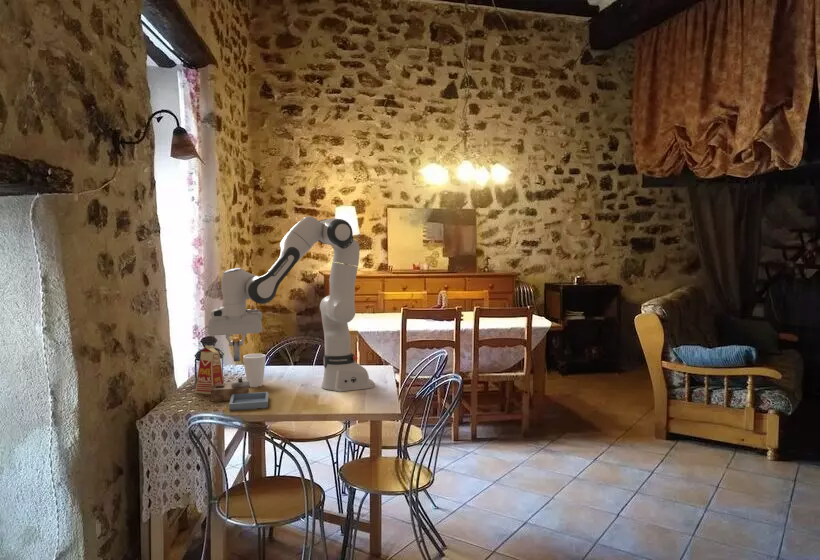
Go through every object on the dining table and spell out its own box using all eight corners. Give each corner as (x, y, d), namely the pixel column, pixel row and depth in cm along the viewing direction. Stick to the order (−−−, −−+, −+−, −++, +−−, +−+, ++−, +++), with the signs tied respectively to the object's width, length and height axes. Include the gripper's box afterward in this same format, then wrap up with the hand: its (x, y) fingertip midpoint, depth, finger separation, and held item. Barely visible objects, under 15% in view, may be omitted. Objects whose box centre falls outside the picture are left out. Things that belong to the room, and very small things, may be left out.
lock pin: (240, 359, 236) (239, 337, 235) (240, 361, 233) (238, 338, 232) (234, 360, 235) (233, 337, 234) (233, 361, 233) (232, 338, 232)
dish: (268, 397, 240) (268, 391, 240) (267, 408, 226) (267, 401, 226) (232, 400, 237) (232, 394, 237) (229, 410, 223) (229, 404, 223)
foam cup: (265, 381, 265) (264, 352, 264) (267, 386, 257) (266, 357, 256) (243, 383, 262) (242, 354, 261) (244, 388, 254) (243, 358, 253)
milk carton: (214, 394, 245) (213, 346, 244) (194, 393, 247) (192, 345, 246) (226, 388, 254) (224, 342, 253) (206, 387, 256) (204, 341, 254)
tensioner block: (250, 393, 246) (249, 375, 246) (249, 398, 239) (248, 380, 238) (213, 395, 243) (212, 377, 243) (211, 401, 236) (210, 382, 235)
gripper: (262, 307, 237) (264, 342, 239) (208, 310, 233) (210, 345, 235) (261, 310, 231) (263, 345, 233) (206, 312, 227) (208, 348, 229)
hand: (236, 345), depth 234 cm, fingers closed on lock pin, 2 cm apart
